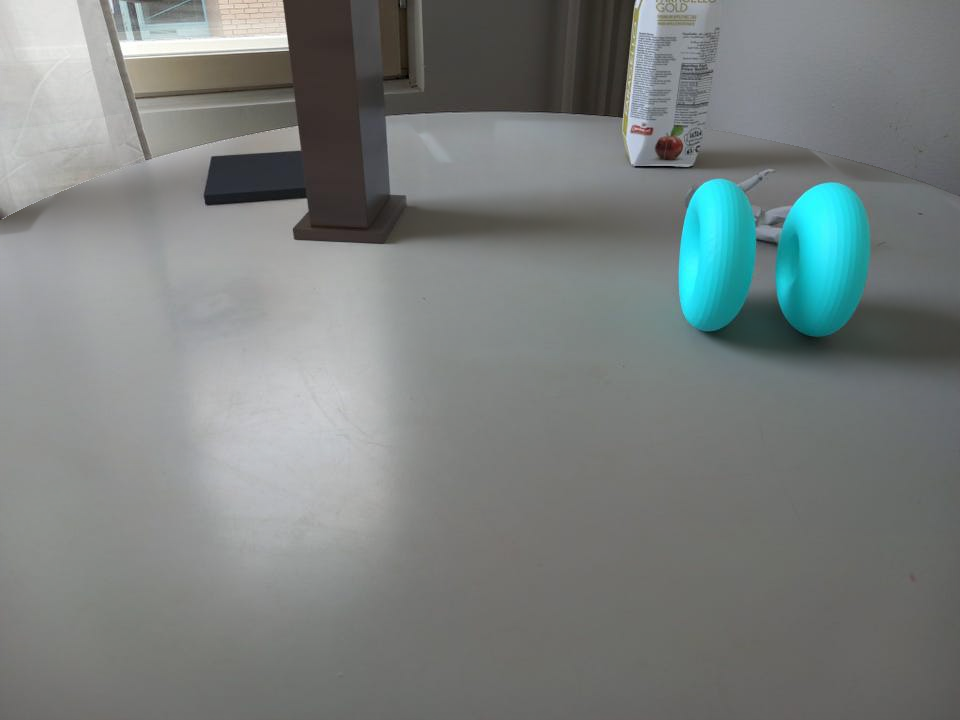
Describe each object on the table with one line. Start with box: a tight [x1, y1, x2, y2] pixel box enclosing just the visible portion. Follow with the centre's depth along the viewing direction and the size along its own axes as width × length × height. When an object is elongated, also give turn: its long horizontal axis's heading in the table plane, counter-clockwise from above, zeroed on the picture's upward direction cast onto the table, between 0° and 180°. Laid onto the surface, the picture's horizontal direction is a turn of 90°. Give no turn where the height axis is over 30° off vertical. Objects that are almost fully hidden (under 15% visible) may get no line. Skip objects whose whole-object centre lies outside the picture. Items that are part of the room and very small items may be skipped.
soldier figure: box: [684, 168, 793, 244], centre depth 64 cm, size 8×5×12 cm
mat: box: [203, 150, 307, 206], centre depth 79 cm, size 14×10×1 cm
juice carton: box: [621, 0, 724, 165], centre depth 81 cm, size 8×9×19 cm
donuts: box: [678, 178, 871, 338], centre depth 49 cm, size 10×10×10 cm
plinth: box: [282, 0, 407, 244], centre depth 61 cm, size 10×8×31 cm
